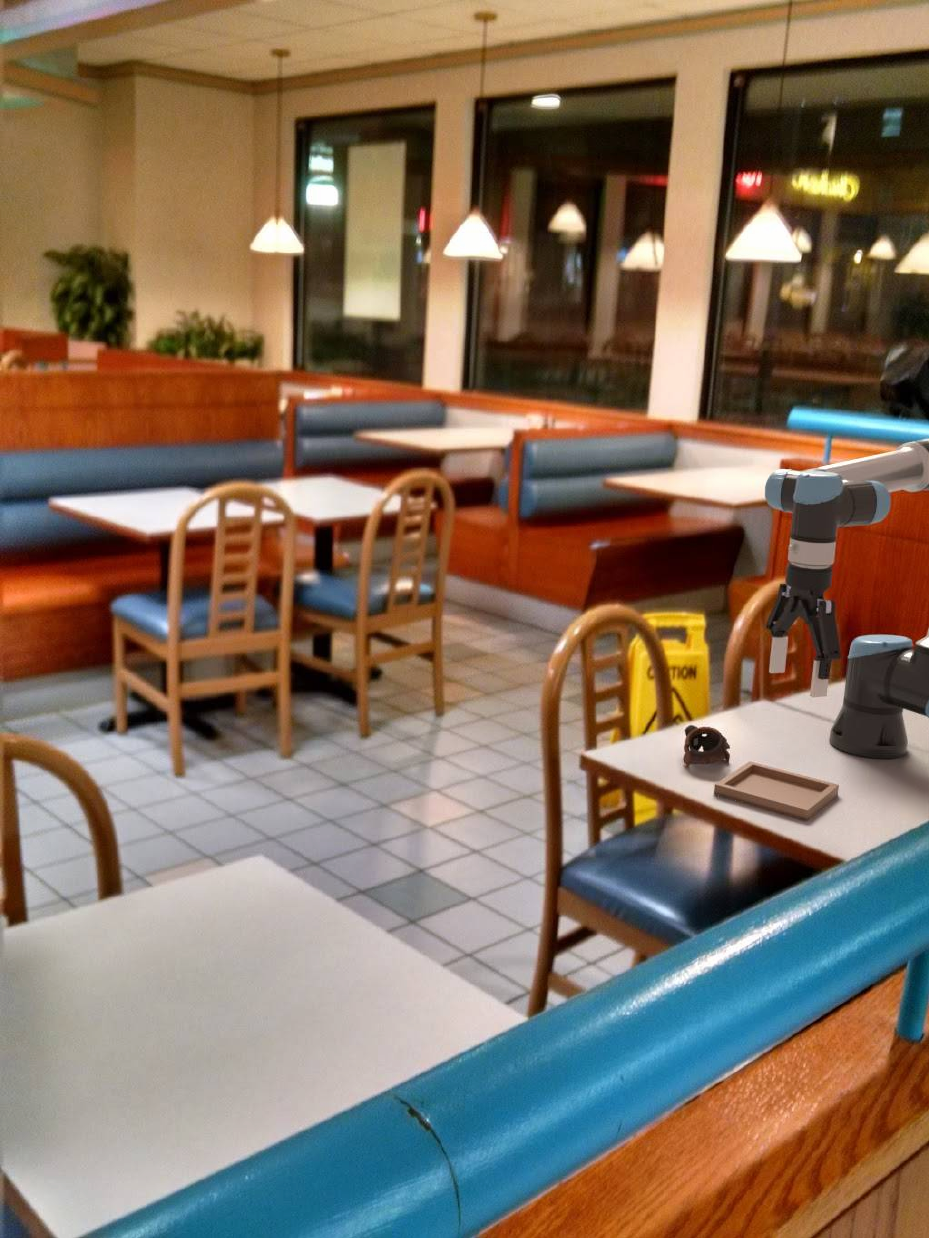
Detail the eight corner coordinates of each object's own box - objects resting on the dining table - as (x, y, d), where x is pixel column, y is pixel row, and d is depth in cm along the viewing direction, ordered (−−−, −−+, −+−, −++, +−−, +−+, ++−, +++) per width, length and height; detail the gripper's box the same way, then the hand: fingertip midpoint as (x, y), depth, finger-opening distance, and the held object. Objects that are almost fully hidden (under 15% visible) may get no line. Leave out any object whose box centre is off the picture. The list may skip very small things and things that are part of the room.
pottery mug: (743, 768, 234) (738, 740, 229) (703, 793, 232) (698, 765, 227) (704, 734, 243) (699, 706, 238) (666, 758, 241) (660, 730, 235)
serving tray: (748, 771, 231) (749, 761, 231) (837, 795, 221) (839, 784, 221) (713, 794, 219) (714, 784, 219) (806, 821, 209) (807, 810, 209)
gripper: (753, 549, 215) (742, 664, 220) (831, 581, 192) (816, 708, 197) (791, 548, 217) (779, 662, 222) (872, 579, 194) (857, 705, 199)
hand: (796, 684), depth 210 cm, fingers open, 13 cm apart
